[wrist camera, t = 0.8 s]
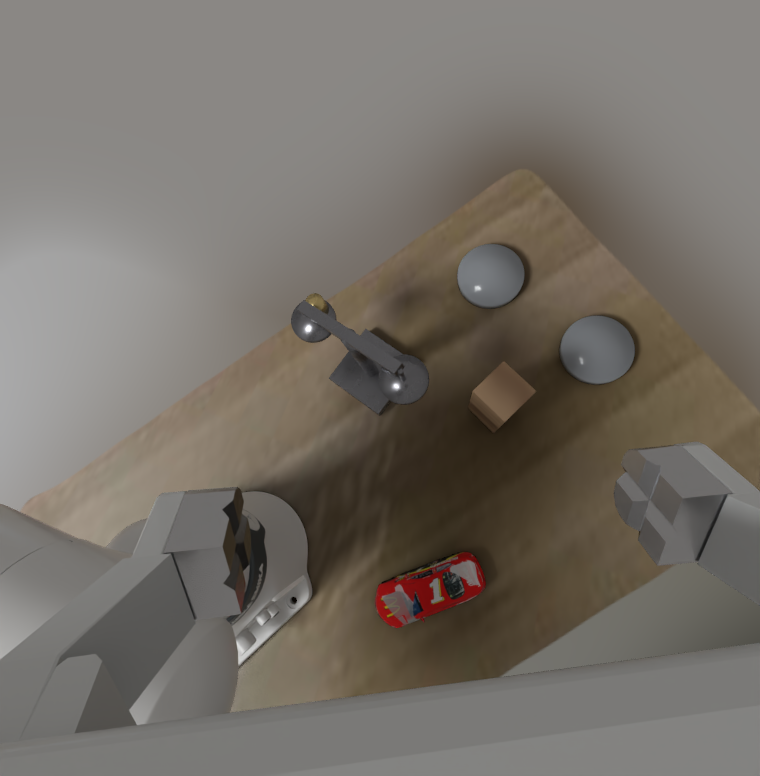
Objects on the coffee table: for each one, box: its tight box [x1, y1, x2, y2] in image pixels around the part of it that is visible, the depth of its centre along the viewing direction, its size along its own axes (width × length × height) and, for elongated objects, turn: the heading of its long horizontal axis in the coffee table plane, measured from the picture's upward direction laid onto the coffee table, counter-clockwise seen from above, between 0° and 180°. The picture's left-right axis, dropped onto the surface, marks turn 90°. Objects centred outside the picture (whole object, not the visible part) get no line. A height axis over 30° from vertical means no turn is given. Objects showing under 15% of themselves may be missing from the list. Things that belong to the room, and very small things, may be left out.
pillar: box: [468, 361, 536, 433], centre depth 54 cm, size 4×4×12 cm
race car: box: [375, 552, 486, 628], centre depth 55 cm, size 13×5×4 cm, turn 110°
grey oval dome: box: [559, 316, 635, 385], centre depth 59 cm, size 8×8×1 cm
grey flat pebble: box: [457, 244, 524, 309], centre depth 62 cm, size 8×8×1 cm
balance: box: [291, 293, 429, 415], centre depth 54 cm, size 8×18×18 cm, turn 53°
